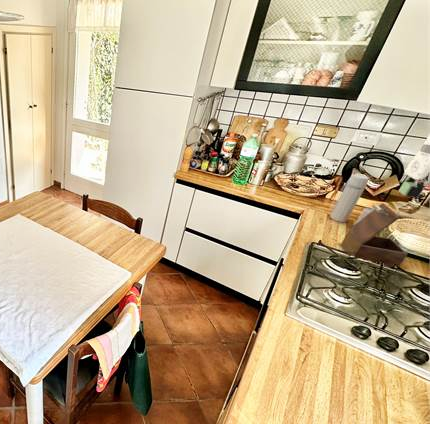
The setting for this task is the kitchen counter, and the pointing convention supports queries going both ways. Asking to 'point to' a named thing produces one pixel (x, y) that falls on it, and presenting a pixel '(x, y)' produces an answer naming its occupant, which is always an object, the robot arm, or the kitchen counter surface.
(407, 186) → the block
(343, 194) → the water bottle
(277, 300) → the kitchen counter surface
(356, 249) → the keepsake box
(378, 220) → the box lid
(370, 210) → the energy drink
